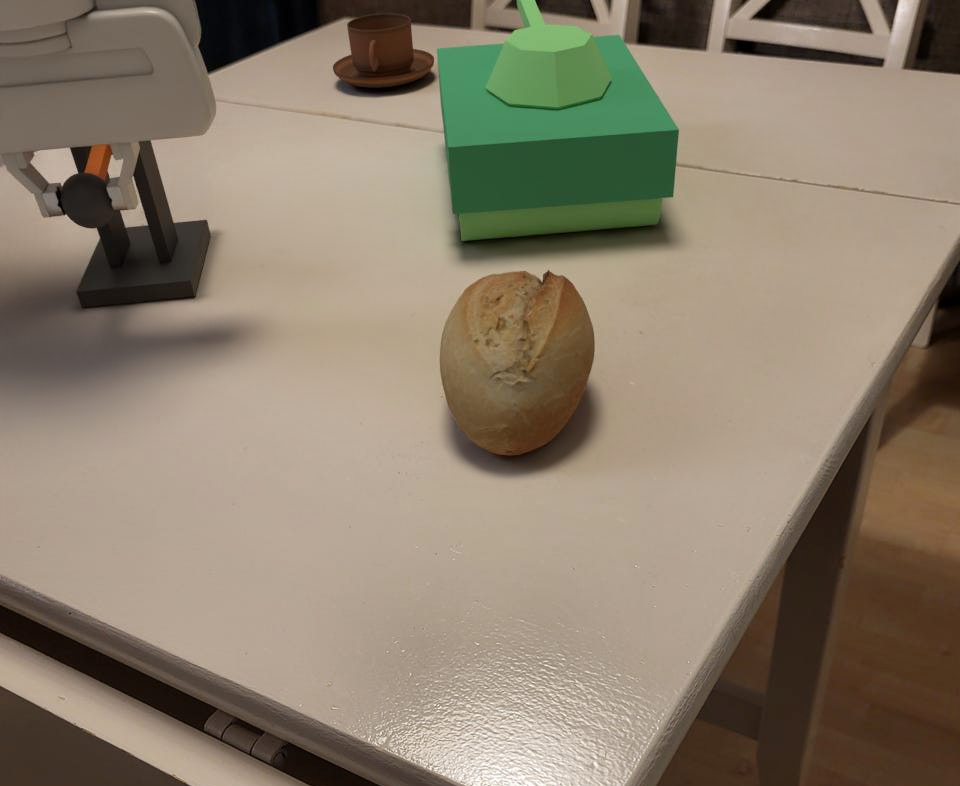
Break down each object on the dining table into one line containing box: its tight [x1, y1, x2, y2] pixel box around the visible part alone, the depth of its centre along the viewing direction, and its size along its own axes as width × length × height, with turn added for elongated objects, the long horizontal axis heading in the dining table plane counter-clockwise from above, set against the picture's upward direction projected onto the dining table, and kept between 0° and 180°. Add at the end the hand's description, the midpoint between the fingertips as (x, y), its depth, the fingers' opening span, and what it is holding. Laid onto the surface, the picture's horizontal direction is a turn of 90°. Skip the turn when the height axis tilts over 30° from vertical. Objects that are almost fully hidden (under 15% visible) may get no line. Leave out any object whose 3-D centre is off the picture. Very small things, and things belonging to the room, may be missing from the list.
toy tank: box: [436, 0, 680, 242], centre depth 88 cm, size 18×12×35 cm
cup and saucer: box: [332, 12, 435, 89], centre depth 114 cm, size 12×12×6 cm
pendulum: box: [60, 144, 115, 229], centre depth 71 cm, size 13×4×4 cm, turn 5°
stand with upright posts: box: [69, 140, 211, 308], centre depth 77 cm, size 12×9×13 cm
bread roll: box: [439, 269, 596, 456], centre depth 61 cm, size 10×15×8 cm, turn 178°
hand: (91, 210), depth 68 cm, fingers closed on pendulum, 3 cm apart
